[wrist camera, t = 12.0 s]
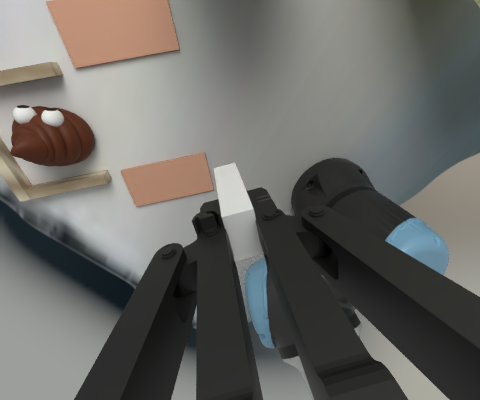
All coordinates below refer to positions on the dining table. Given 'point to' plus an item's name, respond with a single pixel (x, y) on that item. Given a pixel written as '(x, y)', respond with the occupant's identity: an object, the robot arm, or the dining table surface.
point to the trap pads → (124, 47)
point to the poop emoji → (50, 136)
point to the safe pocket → (8, 167)
